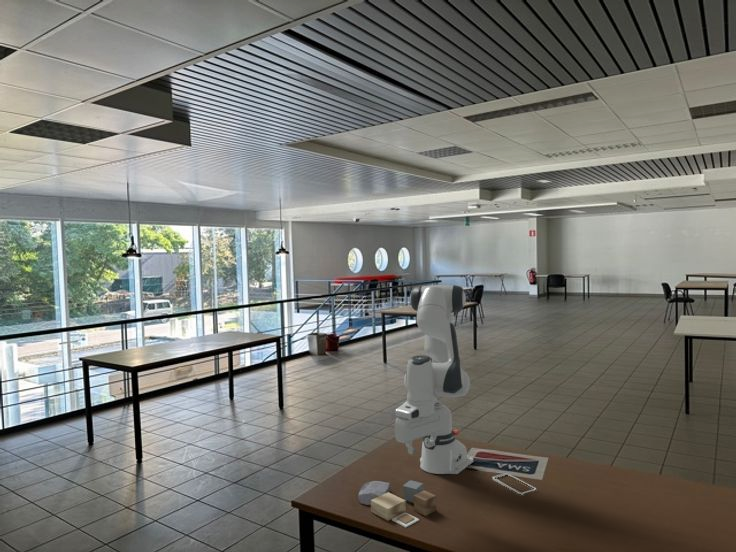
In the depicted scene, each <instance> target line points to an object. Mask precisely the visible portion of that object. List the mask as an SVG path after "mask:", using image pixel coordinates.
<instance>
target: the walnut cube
mask: <svg viewBox="0 0 736 552" xmlns="http://www.w3.org/2000/svg"><path fill="white" fill-rule="evenodd" d="M436 500H437V499H436V495H435V494H433V493H431V492H429V491H427V490H423V491H422V492H420V493H418V494H415V495H414V503H413V510H414V511H415V512H417V513H419V514H421V515H422V516H425V517H426V516H428V515H430V514H432V513H434V512H436V511H437V501H436Z"/></svg>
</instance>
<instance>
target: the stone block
mask: <svg viewBox="0 0 736 552" xmlns="http://www.w3.org/2000/svg"><path fill="white" fill-rule="evenodd" d="M390 491H391V483H390V482H386V481H385V482H384V481H379V480H372V481H368V482H364V484H363V485H362V486H361V488H360V489H359V492H358V495H357V496H358V501H359V504H360V505H361V504H362V505H366V506H371V500H372V499H375V498H377V497H379V496H381V495H383V494H386V493H388V492H389V493H391V492H390Z"/></svg>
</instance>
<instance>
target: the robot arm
mask: <svg viewBox="0 0 736 552" xmlns="http://www.w3.org/2000/svg"><path fill="white" fill-rule="evenodd" d="M409 295H410V296H409V303H410V305H411V308H412V309H413V310H414V311H416V312H417V313H416V324H417V327H418V328H419V330H420V331H421V332H422V333H423V334H424V346H423V348H424V349H423V350H424V353H425V355H424V354H422V355H421V354H420V355H419V354H418V355H414V356H411V357H409V359H408V361H407V365H406V366H407V368H406V372H405V374H404V378H403V384H404V388H405V390H406V391H407V394H406V395H407V396H406V401H405V402H404V403H402V404H401V405H400V406H398V407H397V408H395V411H394V414H395V416H396V419H395V420H394V422H395V423H394V438H395V440H396V441H397V442H399V443H402V444H405V446H406V448H407V454H408V455H413V454H415V453H416V452H415V450H416V449H415V447H413V445H412V444H413V441H415V440H418V439H421V438H422V442H421V444H422V445H421V457H420V458H419V462H420V465H419V466H420V469H421V470H422V471H424V472H427V473H429V474H437V475H445V474H446V475H448V474H449V475H458V474H460V473H461V472H462V471H464V470H465V469H466V468H468V465H469V466H470V465H471V464H472V463H474V458H473V457H471V455H470V456H469V455H468V450H467V447H466V445H465V444H463V443H462V442H461V441H459V440H458V439H456V436H459V435H460V431H459V430H458V429H453V425H452V424H453V421H452V417H453V416H452V411H451V410H450V408H449V407H448V406H446V405H445V404H443V403H441V402H440V401H439V400H438V399H437V397H439V398H440V397H444V398H457V397H463V396H466V395H467V393H468V392H469V390H470V387H471V379H470V377H469V374H468V373H467V372H466V371H465V370H464V369H463V368H462V364H461V358H460V350H459V344H458V337H457V332H456V331H457V329H456V328H455V325H454V324H453V318H452V314H453V317H456V316H457V314H459V313H460V312H461V311H462V310H463V309H464V307H465V304H466V301H467V296H466V293H465V290H464V288H463V287H462V286H460V285H448V284H436V285H435V284H434V285H433V284H431V285H418V286H415V287H414V288H413V289H411V292H410V294H409ZM432 360H434V361H436V362H432Z"/></svg>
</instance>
